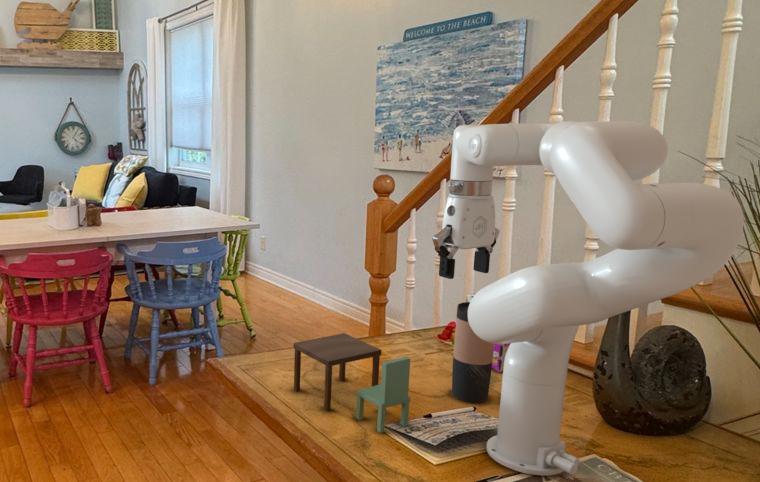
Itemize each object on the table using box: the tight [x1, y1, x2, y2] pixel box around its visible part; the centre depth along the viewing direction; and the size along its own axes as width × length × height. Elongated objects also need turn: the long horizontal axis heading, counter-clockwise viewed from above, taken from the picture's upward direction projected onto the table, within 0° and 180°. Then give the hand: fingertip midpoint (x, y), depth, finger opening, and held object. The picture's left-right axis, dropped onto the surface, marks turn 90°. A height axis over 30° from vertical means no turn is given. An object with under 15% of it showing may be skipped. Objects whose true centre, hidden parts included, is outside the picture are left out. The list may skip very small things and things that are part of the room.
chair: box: [355, 356, 411, 434], centre depth 124 cm, size 7×7×14 cm
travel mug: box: [451, 301, 494, 404], centre depth 135 cm, size 8×8×20 cm
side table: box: [293, 332, 382, 412], centre depth 138 cm, size 12×14×11 cm
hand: (463, 274), depth 127 cm, fingers open, 9 cm apart
